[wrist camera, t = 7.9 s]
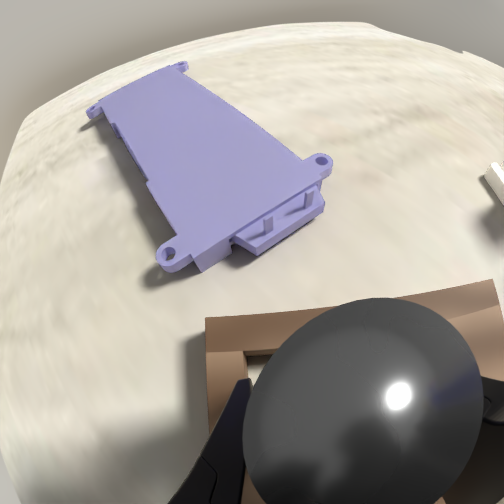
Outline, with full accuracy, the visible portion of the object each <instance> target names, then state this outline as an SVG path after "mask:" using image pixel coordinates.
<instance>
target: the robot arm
mask: <svg viewBox="0 0 504 504" xmlns="http://www.w3.org/2000/svg"><path fill="white" fill-rule="evenodd" d="M481 380H482V386H483V416H482V423H481V427H480V431H479V435H478V439H477V442H476V444H475V447H474V450H473V452H472V454H471V456H470V458H469V460H468V462H467V464H466V466H465V468H464V469H463V471H462V472H461V474H460V475H459V477H458V478H457V480H456V481H455V482H454V483H453V485H452V486H451V487H450V488H449V489H448V491H447V492H446V493H445V494H444V495H443V496H442V497H443V499H444V501H445V503H446V504H504V381H500V380H496V379H492V378H488V377H484V376H481ZM252 390H253V385H252V382H251V379H250V378H244V379H239V380H238V381H237V382H236V384H235V386H234V388H233V390H232V392H231V394H230V396H229V398H228V400H227V403H226V405H225V407H224V409H223V411H222V413H221V415H220V417H219V419H218V421H217V422H216V424H215V426H214V428H213V430H212V432H211V434H210V436H209V438H208V440H207V442H206V444H205V446H204V448H203V450H202V452H201V453H200V456H199V457H198V459H197V461H196V463H195V465H194V466H193V468H192V470H191V471H190V473H189V475H188V477H187V478H186V479H185V481H184V482H183V484H182V485H181V487H180V488H179V489H178V491H177V492H176V493H175V495H174V496H173V497H172V499H171V500H170V501H169V502H168V504H266V503H265V502H264V501H263V500H262V498H261V497H260V495H259V494H258V492H257V490H256V489H255V487H254V485H253V483H252V481H251V478H250V476H249V474H248V471H247V467H246V463H245V459H244V453H243V441H242V437H243V422H244V417H245V413H246V408H247V404H248V401H249V398H250V395H251V392H252Z"/></svg>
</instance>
